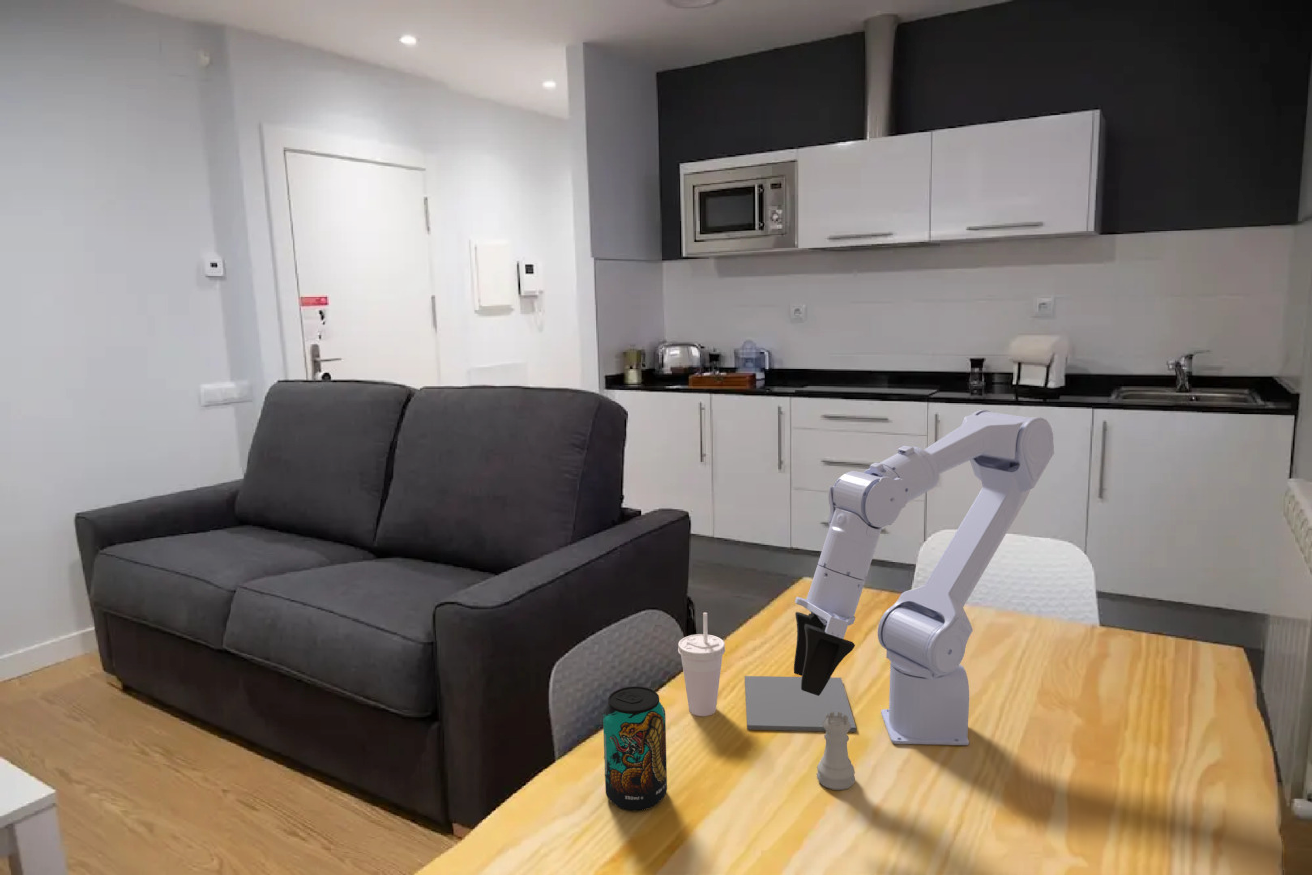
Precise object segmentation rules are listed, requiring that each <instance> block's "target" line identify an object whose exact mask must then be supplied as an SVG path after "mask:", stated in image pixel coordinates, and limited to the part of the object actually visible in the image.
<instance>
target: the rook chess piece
mask: <svg viewBox="0 0 1312 875" xmlns="http://www.w3.org/2000/svg"><path fill="white" fill-rule="evenodd" d="M822 724H823V727H824V728H825V730H826V731H825V734H824V735H823V736H824V739H825V745H824V746H825V747H824V752H823V756H822V757H821V759H820V761H819V762H818V764H817V767H816V768H817V769H816V770H817V772H816V779H817V780H818V782H819V783H820V784H821V785H822V787H825V788H826V789H828V790H831V791H832V790H833V791H844V790H848V789H849V788H851V787H852V786H853V785H854V784H855V782H856V776H855V773H856V772H855V767H854V765H853V764H852V761H851V759H850V758H849V751H848V742H849V740H850V737H849V735H848V733H849V732H848V731H849V730H850V729H851V724H850V723H849V722H848V717H847V716H846V715H844V716H843V717H842V713H839V712H838V716H834V712H831V713H830V717H829V715H828V714H827V715H826V719H825V720H824V722H823V723H822Z"/></svg>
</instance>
